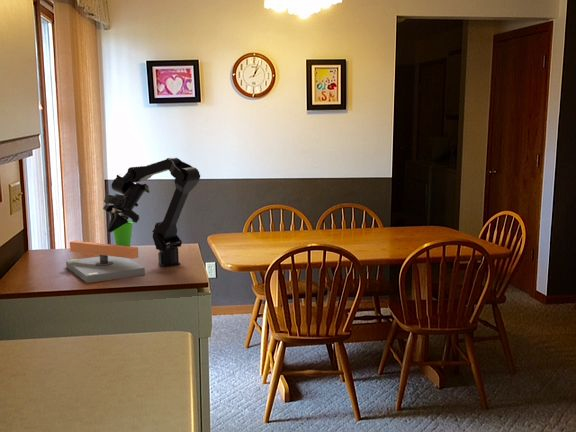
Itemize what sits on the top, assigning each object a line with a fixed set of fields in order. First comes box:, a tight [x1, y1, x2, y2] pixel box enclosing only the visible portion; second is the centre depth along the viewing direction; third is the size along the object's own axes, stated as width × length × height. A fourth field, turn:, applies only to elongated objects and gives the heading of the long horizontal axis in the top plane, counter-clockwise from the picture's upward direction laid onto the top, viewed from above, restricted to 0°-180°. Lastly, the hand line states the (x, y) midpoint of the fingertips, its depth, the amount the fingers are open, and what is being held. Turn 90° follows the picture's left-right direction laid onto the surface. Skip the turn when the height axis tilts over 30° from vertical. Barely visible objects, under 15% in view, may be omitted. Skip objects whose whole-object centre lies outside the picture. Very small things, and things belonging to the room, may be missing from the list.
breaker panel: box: [65, 255, 146, 284], centre depth 221 cm, size 20×28×3 cm
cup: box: [112, 221, 134, 247], centre depth 258 cm, size 9×9×11 cm
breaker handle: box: [69, 240, 139, 264], centre depth 220 cm, size 3×30×7 cm, turn 63°
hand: (108, 232), depth 229 cm, fingers closed
